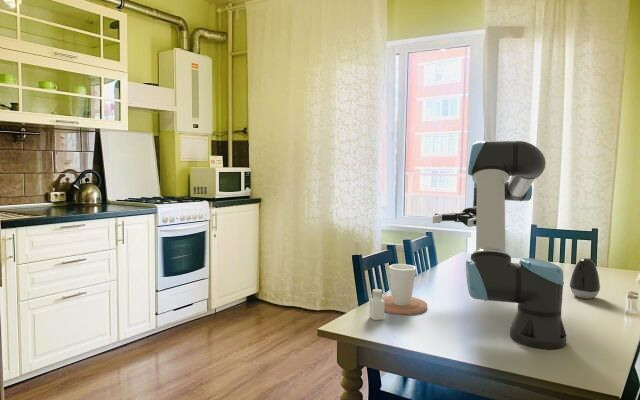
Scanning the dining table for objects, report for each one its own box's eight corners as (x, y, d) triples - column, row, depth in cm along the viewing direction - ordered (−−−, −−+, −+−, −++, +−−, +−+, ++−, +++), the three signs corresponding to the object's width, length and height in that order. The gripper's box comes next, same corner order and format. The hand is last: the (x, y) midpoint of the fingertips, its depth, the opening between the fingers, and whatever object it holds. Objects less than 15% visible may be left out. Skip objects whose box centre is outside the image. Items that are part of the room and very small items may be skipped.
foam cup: (414, 307, 161) (415, 271, 160) (387, 305, 163) (388, 269, 162) (415, 299, 170) (416, 264, 169) (389, 297, 172) (390, 263, 171)
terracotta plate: (432, 315, 157) (432, 311, 157) (378, 314, 158) (378, 310, 158) (421, 299, 175) (421, 295, 175) (373, 298, 176) (373, 294, 175)
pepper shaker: (373, 321, 151) (374, 292, 150) (368, 316, 155) (369, 289, 154) (384, 320, 152) (385, 291, 151) (380, 315, 156) (380, 288, 155)
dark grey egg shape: (602, 296, 181) (604, 258, 179) (595, 302, 173) (598, 262, 172) (573, 291, 188) (575, 254, 186) (565, 296, 180) (568, 258, 179)
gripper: (504, 228, 179) (483, 235, 163) (443, 222, 195) (419, 227, 179) (505, 209, 179) (484, 214, 162) (444, 204, 194) (420, 208, 178)
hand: (450, 221), depth 171 cm, fingers open, 13 cm apart
